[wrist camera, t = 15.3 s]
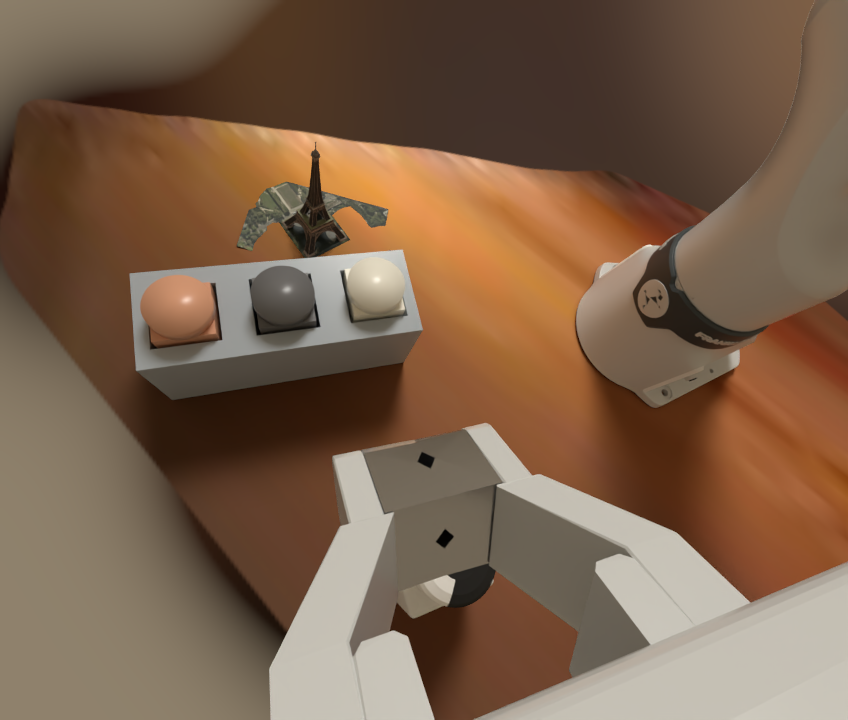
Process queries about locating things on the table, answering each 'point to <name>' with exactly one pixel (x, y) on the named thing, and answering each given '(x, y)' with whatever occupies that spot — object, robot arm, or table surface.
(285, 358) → the button console
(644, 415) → the table surface
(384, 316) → the button cream
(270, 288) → the button charcoal
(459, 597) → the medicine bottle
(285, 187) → the eiffel tower figurine
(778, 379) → the table surface
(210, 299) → the button terracotta
